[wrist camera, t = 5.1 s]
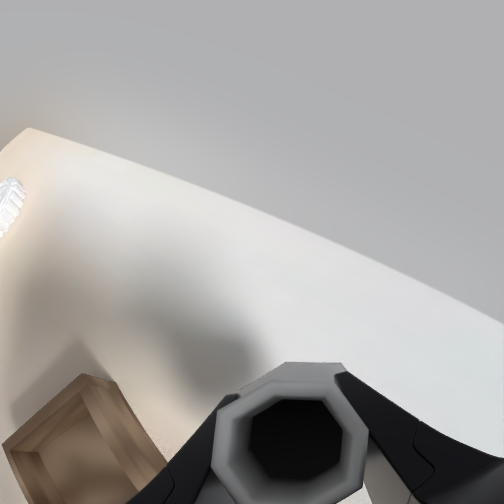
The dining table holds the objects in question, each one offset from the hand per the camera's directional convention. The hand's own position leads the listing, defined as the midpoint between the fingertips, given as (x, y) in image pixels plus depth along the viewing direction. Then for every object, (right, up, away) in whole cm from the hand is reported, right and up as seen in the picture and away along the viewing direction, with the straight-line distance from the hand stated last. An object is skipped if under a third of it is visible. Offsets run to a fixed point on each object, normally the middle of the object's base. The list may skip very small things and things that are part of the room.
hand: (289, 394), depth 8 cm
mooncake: (-44, +11, +31) cm, 55 cm away
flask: (+1, -5, +5) cm, 7 cm away
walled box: (-14, -15, +9) cm, 23 cm away
